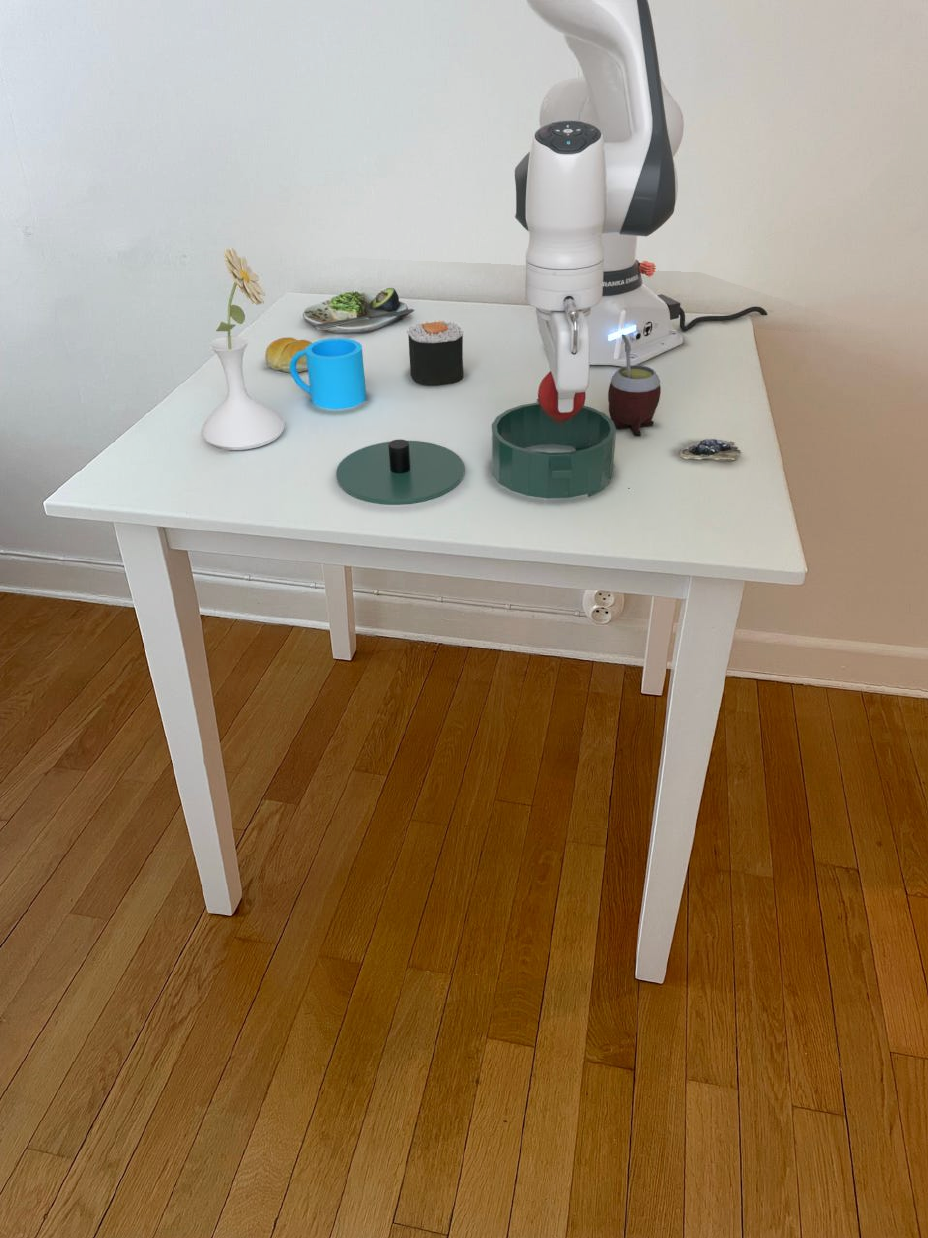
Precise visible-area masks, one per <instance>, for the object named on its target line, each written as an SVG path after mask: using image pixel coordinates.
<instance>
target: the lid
mask: <svg viewBox="0 0 928 1238" xmlns="http://www.w3.org/2000/svg"><path fill="white" fill-rule="evenodd" d="M335 476H336V481H337V484H338V485H339V487H340V489H341V490H342V491H344V492H345V493H346V494H348V495H349V496H351V497H353V498H356V499H358V500H361V501H363V502H368V503H369V502H370V503H373V504H380V505H410V504H416V503H422V502H426V501H430V500H434V499H436V498H439V497H442V496H443V495H446V494H447V493H450V492H451V491H452V490H454V489H455V488H456V487H458V485H459V484H460V483H461V482H462V480H463V478H464V476H465V465H464V462H463V459H462V458H461V457H460V456H459V455H458V454H457V453H456V452H454V451H453V450H451V449H449V448H447V447H445V446H442V445H440V444H436V443H433V442H427V441H420V440H405V439H393V440H391V441H386V442H384V441H383V442H379V443H375V444H371V445H368V446H364V447H362V448H360V449H357V450H355V451H353V452H352V453H350V454H348V455H347V456H345V457H344V458H343V459H342V460H341V461H340V462H339V464H338V466H337V468H336V473H335Z"/></svg>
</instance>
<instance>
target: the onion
mask: <svg viewBox="0 0 928 1238" xmlns="http://www.w3.org/2000/svg"><path fill="white" fill-rule="evenodd" d="M557 394H558V392H557V390H556V386H555V383H554V379H553V376H552V372H551V371H550V370H549V372H547V374H546V375H545V376H544V377H543V379H542V380H541V381H540V384H539V386H538V391H537V399H538V401H539V404H540V406H541V408H542V409H543V411H544V412H545V413H546V414H548V415H549V416H550V417H551V418H553V419H554V420H555V421H556V422H557V423H563V422H565V421H567V420H569V419H571V418H573V417H574V416H575V415H576V414H577V413H578V412H579V411H581V409H582V407H583V406H585V402H586V398H587V397H586V395H587V394H586V391H585V392H580V393H575V396H574V401H573V410H572V411H571V412H563V413H561V412H559V410H558V407H557Z"/></svg>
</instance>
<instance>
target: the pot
mask: <svg viewBox="0 0 928 1238" xmlns="http://www.w3.org/2000/svg"><path fill="white" fill-rule="evenodd" d="M616 436H617V430H616V427H615V425H614V422H613V421H612V420H611V418H610V416H608V415H607V414H606V413H604V412H602V411H600V410H598V409H595V408H594V407H591V406H587V405H584V406H583V407H582V409H581V411H579V412H578V413H577V414H576V415H575V416H574V417H573V418H571V419H569V420H567V421H565V422H563V423H557V422H556V421H555V420H554V419H553V418H551V417H550V416H549V415H548V414H546V413H545V412H544V411H543V409H542V408H541V406H540V404H539V401H538V398H536V402H532V403H526V404H521V405H517V406H514V407H512V408H509V409H506V410H505V411H503V412H501V413H500V414H499V415H497V416H496V417H495V419H494V420H493V422H492V423H491V474H492V476H493V478H494V479H495V481H497V483H499V484H500V486H503V487H504V488H506V489H508V490H510V491H511V492H514V493H518V494H521V495H524V496H527V497H531V498H532V497H533V498H541V499H570V498H575V497H580V496H585V495H587V498H589V497H591V496H594V495H597V494H599V493H600V492H601V491H603V490H604V489H605V488H606V487H607V486H609V484H610V482H611V480H612V476H613V473H614V462H615V450H616V438H617V437H616ZM539 445H540V446H545V445H558V446H566V447H573V448H575V450H573V451H564V452H563V451H562V452H561V451H559V452H547V451H539V450H531V449H527V448H528V447H535V446H539Z"/></svg>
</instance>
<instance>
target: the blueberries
mask: <svg viewBox="0 0 928 1238" xmlns="http://www.w3.org/2000/svg"><path fill="white" fill-rule="evenodd" d="M735 445H736V442H734V441H727V440H723V439H717V438H716V439H715V438H710V439H709V438H705V439H702V440H699V441H696V442H695V441H694V442H692V443H691V444H690V443H689V444H688V445H687V446H685V447H684V448H682V449H680V450H678V456H679V457H681V458H682V459H685V460H690V459H693V460H695V461H696V460H698V461H699V460H705V459H709V460H713V461H714V460H715V461H716V460H719V461H721V462H724V463H725V462H728V463H729V462H733V461H734V460H736V459H737V458H738V457H739V455H740V454H742V451H741V449H740V447H738V446H735Z"/></svg>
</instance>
